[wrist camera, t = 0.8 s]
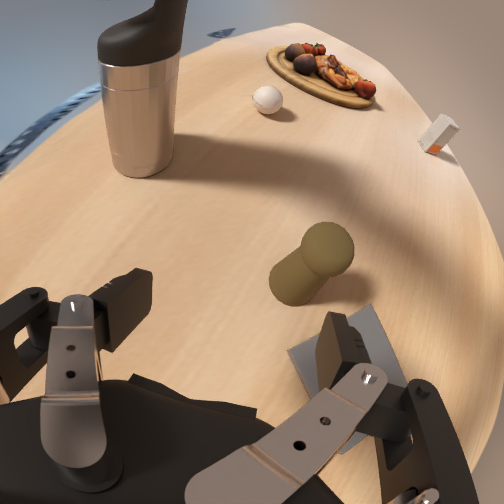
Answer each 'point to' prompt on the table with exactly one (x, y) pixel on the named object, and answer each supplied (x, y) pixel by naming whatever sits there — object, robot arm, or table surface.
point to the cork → (312, 263)
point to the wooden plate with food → (321, 75)
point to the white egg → (267, 99)
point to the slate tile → (376, 349)
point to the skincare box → (438, 134)
